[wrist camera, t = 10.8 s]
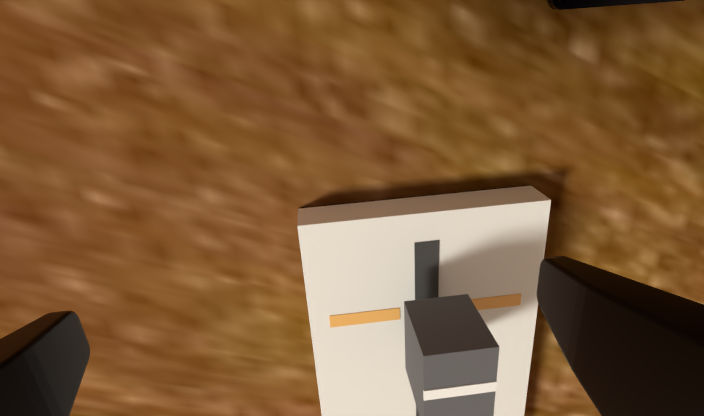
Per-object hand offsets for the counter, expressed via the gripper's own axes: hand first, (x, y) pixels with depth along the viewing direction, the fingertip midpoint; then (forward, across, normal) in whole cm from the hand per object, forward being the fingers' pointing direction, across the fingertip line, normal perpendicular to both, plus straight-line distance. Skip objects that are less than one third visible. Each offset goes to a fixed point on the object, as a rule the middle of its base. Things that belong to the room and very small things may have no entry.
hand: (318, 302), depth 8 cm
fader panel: (+13, -5, +14) cm, 20 cm away
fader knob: (+11, -5, +9) cm, 15 cm away
